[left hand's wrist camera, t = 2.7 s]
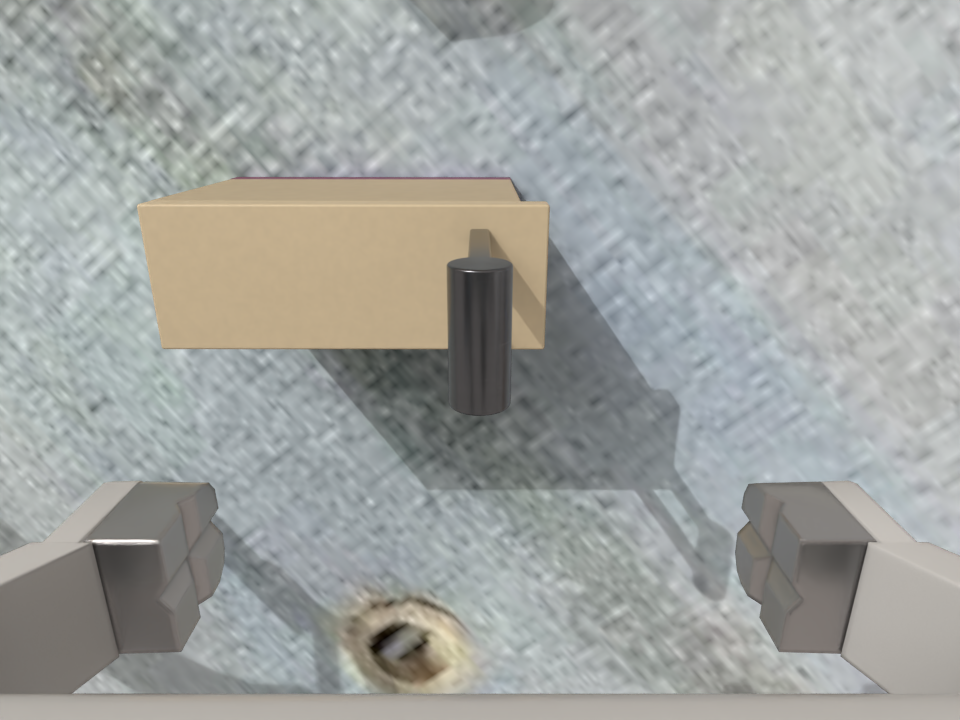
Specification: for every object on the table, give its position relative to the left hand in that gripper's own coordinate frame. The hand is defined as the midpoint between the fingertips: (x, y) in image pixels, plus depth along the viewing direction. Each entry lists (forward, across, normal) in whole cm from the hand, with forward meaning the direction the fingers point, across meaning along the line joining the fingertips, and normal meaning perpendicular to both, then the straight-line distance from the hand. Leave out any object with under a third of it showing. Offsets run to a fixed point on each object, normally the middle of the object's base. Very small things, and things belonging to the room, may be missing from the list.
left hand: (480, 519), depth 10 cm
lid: (+16, -5, 0) cm, 17 cm away
